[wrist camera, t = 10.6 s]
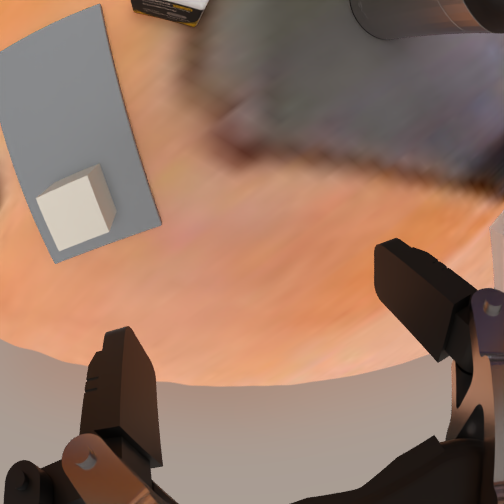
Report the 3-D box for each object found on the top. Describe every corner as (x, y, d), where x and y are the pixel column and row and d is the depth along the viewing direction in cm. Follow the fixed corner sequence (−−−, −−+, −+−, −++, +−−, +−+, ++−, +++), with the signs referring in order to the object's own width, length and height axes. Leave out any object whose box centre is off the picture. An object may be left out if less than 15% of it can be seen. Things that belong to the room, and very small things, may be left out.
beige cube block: (99, 163, 29) (87, 175, 24) (116, 211, 32) (109, 232, 27) (54, 182, 29) (35, 198, 23) (72, 228, 31) (59, 251, 26)
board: (101, 6, 23) (90, -12, 17) (161, 221, 35) (162, 243, 30) (-9, 61, 21) (-35, 56, 15) (57, 259, 33) (43, 286, 28)
